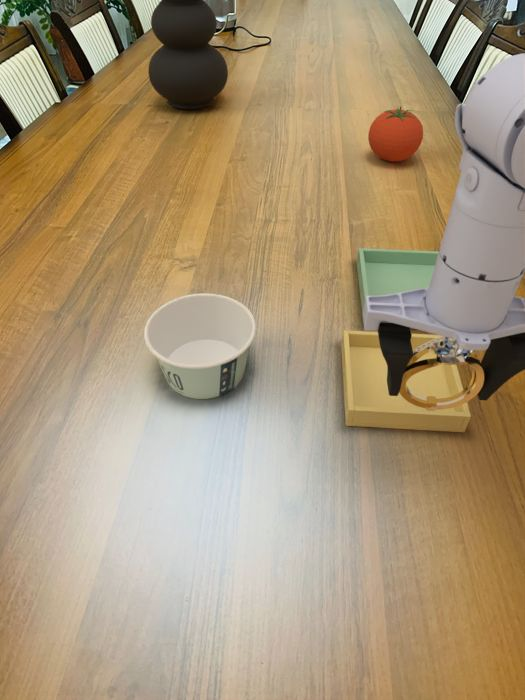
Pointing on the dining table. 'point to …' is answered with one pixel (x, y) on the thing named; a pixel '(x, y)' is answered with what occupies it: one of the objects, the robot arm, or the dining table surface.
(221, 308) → the food container
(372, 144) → the tomato
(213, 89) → the vase
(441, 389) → the yellow tray
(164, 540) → the dining table surface
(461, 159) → the robot arm
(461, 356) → the ring
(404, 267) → the green tray
